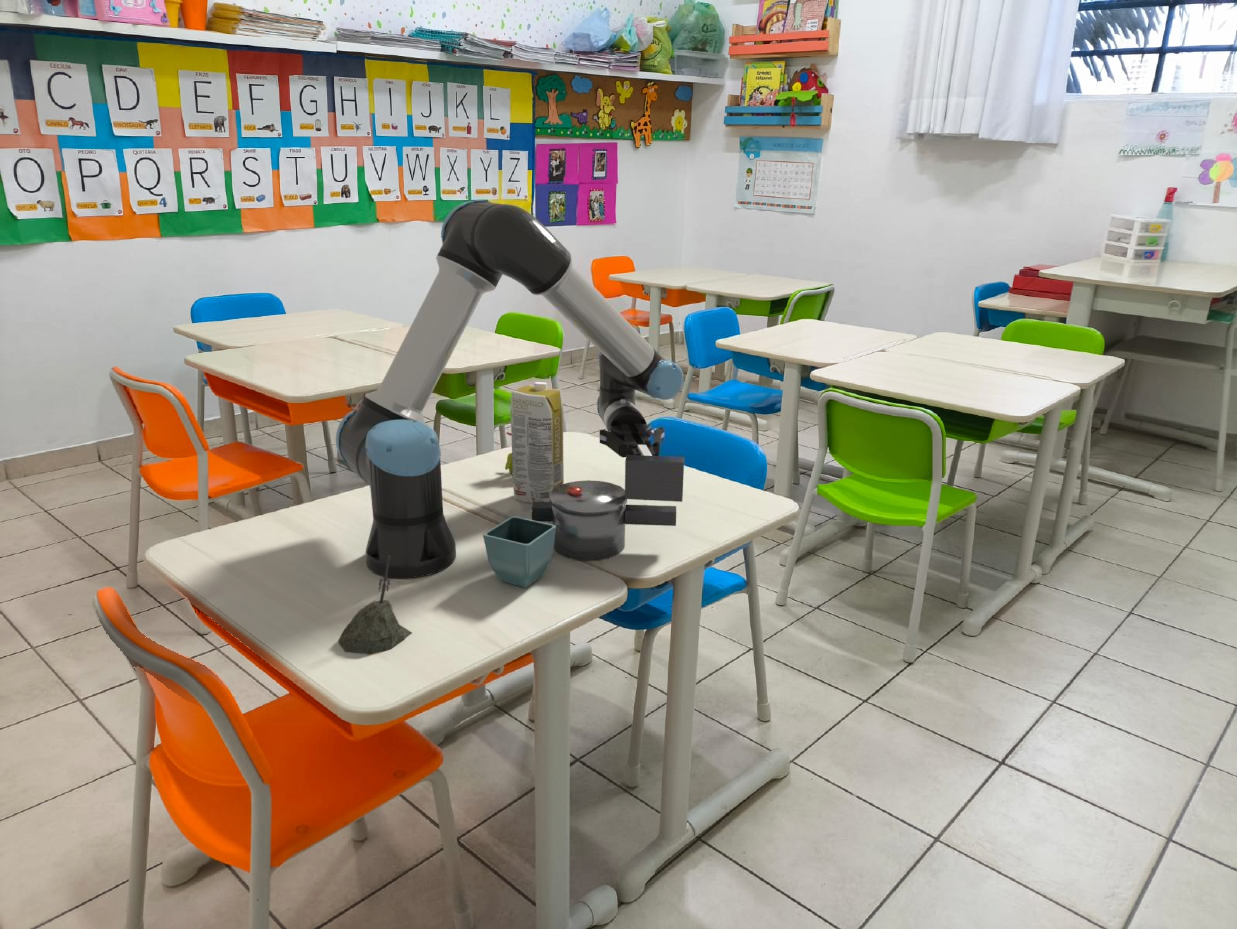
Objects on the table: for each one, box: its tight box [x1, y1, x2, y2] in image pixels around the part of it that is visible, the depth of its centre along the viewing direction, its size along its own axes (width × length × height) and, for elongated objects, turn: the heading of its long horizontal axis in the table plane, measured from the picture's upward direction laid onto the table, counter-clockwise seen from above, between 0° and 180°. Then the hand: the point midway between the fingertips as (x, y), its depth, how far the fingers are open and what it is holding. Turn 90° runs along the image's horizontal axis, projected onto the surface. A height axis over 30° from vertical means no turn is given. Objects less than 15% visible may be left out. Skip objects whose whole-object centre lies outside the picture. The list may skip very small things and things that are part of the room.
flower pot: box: [482, 515, 556, 588], centre depth 143 cm, size 9×9×9 cm
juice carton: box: [510, 381, 565, 505], centre depth 173 cm, size 9×8×24 cm
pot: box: [531, 502, 677, 562], centre depth 156 cm, size 26×13×8 cm, turn 87°
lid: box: [550, 455, 685, 515], centre depth 152 cm, size 23×14×8 cm, turn 85°
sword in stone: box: [338, 556, 413, 655], centre depth 125 cm, size 10×8×12 cm
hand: (648, 463), depth 153 cm, fingers closed
